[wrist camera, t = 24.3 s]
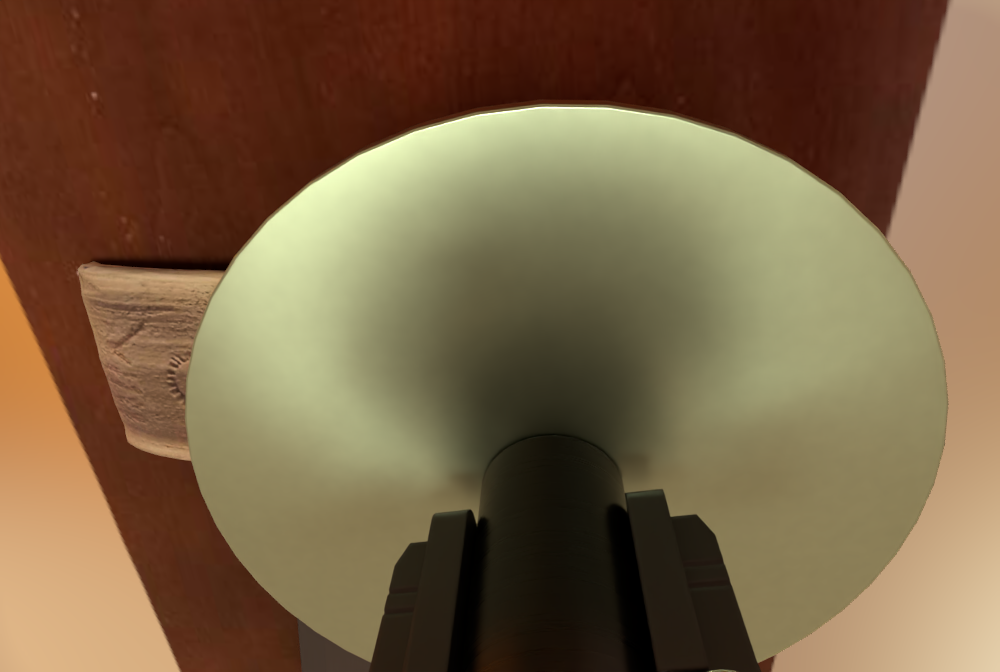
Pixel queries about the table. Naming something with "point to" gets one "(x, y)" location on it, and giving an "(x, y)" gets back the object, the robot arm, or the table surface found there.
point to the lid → (565, 380)
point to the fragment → (147, 345)
